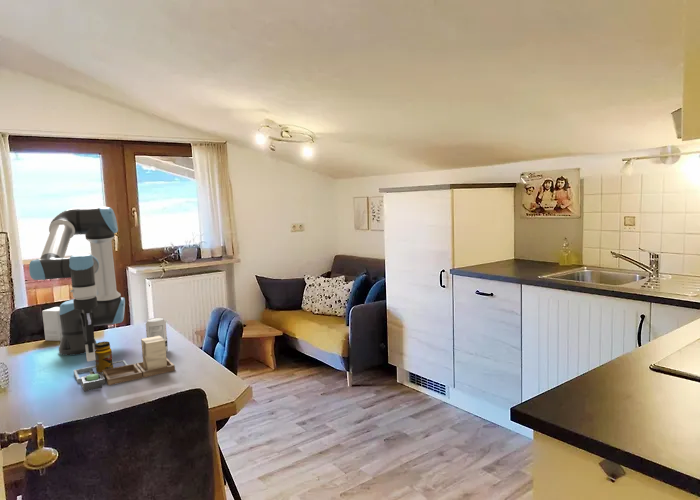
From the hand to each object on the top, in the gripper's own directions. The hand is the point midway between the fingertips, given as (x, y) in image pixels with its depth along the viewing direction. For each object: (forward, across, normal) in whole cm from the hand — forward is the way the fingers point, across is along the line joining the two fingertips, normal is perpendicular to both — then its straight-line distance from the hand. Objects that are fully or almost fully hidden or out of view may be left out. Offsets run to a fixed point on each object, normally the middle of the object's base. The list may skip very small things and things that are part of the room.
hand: (91, 360), depth 185 cm
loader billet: (+9, +1, +22) cm, 23 cm away
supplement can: (+11, -24, +29) cm, 39 cm away
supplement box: (+12, -81, -4) cm, 82 cm away
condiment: (+10, -12, +5) cm, 17 cm away
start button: (+8, +1, 0) cm, 8 cm away
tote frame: (+10, -12, +5) cm, 17 cm away
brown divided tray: (+10, +1, +16) cm, 19 cm away
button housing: (+10, +1, 0) cm, 10 cm away
